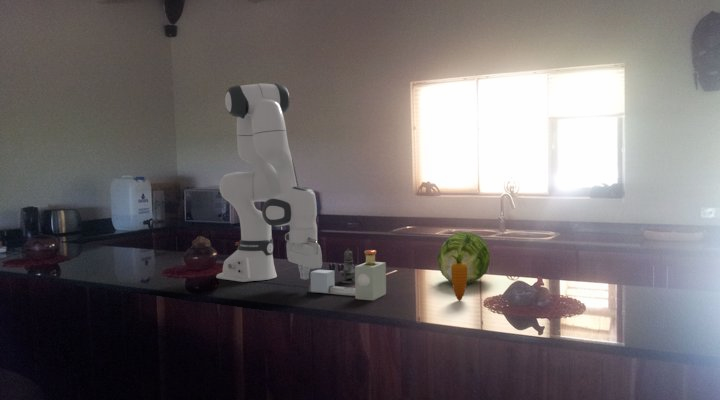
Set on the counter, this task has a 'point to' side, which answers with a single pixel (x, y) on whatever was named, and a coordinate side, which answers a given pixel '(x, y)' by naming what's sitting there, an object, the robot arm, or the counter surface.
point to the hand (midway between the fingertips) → (304, 278)
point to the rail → (339, 290)
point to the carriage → (322, 280)
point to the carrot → (459, 275)
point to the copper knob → (370, 257)
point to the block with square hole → (370, 281)
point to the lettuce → (465, 255)
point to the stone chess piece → (348, 268)
